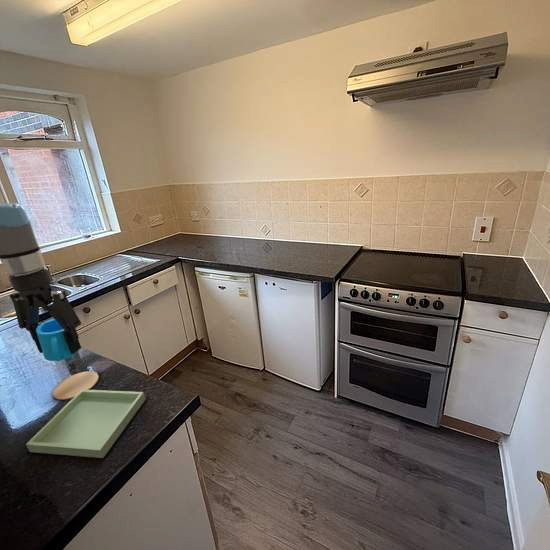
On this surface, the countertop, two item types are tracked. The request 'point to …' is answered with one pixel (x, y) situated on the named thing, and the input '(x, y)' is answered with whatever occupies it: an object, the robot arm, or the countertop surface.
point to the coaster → (75, 385)
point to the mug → (53, 341)
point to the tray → (88, 424)
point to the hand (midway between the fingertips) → (60, 350)
